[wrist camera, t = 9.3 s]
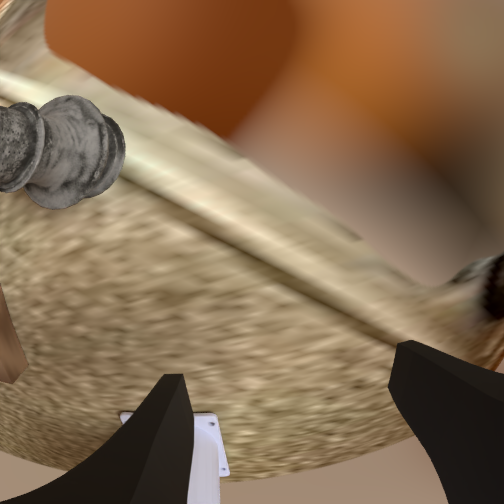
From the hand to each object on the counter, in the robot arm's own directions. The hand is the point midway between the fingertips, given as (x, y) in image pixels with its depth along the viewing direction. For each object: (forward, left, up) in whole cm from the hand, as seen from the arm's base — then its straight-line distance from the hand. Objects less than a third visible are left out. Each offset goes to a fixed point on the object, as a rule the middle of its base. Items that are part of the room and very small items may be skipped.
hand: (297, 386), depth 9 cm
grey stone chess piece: (+9, +10, -10) cm, 17 cm away
